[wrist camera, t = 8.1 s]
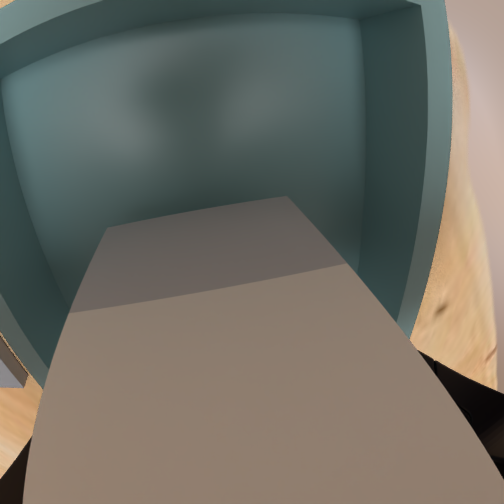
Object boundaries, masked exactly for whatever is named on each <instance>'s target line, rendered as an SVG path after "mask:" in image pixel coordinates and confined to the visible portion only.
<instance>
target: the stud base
mask: <svg viewBox="0 0 504 504" xmlns="http://www.w3.org/2000/svg"><path fill="white" fill-rule="evenodd" d="M27 377H28V374H27V373H26V372H25V370H24V369H23V368H22V367H21V365H20V364H19V363H18V361H17V360H16V358H15V357H14V356H13V354H12V353H11V352H10V350H9V349H8V347H7V346H6V344H5V343H4V341H3V340H2V338H1V337H0V387H8V388H24V386H25V383H26V380H27Z"/></svg>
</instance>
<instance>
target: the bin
mask: <svg viewBox="0 0 504 504" xmlns="http://www.w3.org/2000/svg"><path fill="white" fill-rule="evenodd" d="M451 131H452V65H451V50H450V38H449V29H448V21H447V14H446V8H445V2H444V0H15V1H13V2H11V3H10V4H8V5H6V6H4V7H3V8H1V9H0V331H1V333H2V334H3V336H4V338H5V339H6V341H7V342H8V343H9V345H10V346H11V348H12V349H13V351H14V352H15V354H16V355H17V356H18V358H19V359H20V360H21V362H22V363H23V365H24V366H25V367H26V368H27V370H28V371H29V372H30V374H31V375H32V376H33V377H34V379H35V380H36V381H37V382H38V384H39V385H40V386H41V387H42V389H44V386H45V382H46V379H47V375H48V372H49V369H50V365H51V362H52V359H53V356H54V353H55V350H56V347H57V344H58V341H59V338H60V335H61V333H62V330H63V327H64V324H65V322H66V319H67V316H68V314H69V311H70V309H71V306H72V304H73V301H74V299H75V296H76V294H77V291H78V289H79V287H80V284H81V282H82V280H83V278H84V275H85V273H86V271H87V269H88V266H89V264H90V262H91V260H92V258H93V256H94V253H95V251H96V249H97V247H98V245H99V243H100V241H101V239H102V237H103V235H104V233H105V231H106V229H107V228H108V227H113V226H118V225H123V224H127V223H132V222H137V221H142V220H147V219H152V218H157V217H162V216H168V215H173V214H178V213H184V212H189V211H195V210H201V209H206V208H212V207H218V206H224V205H230V204H236V203H242V202H249V201H255V200H262V199H269V198H275V197H282V196H287V197H288V198H289V199H290V200H291V201H292V202H293V203H294V204H295V205H296V206H297V207H298V208H299V209H300V211H301V212H302V213H303V214H304V215H305V216H306V217H307V218H308V219H309V220H310V221H311V223H312V224H313V225H314V226H315V227H316V228H317V229H318V230H319V231H320V233H321V234H322V235H323V236H324V237H325V238H326V239H327V240H328V242H329V243H330V244H331V245H332V246H333V247H334V248H335V250H336V251H337V252H338V253H339V254H340V255H341V257H342V258H343V259H344V260H345V261H346V262H347V264H348V265H349V266H350V267H351V268H352V269H353V271H354V272H355V273H356V274H357V275H358V276H359V278H360V279H361V280H362V281H363V282H364V284H365V285H366V286H367V287H368V288H369V290H370V291H371V292H372V293H373V295H374V296H375V297H376V298H377V299H378V301H379V302H380V303H381V304H382V306H383V307H384V308H385V309H386V311H387V312H388V313H389V314H390V316H391V317H392V318H393V319H394V321H395V322H396V323H397V325H398V326H399V327H400V328H401V330H402V331H403V332H404V333H405V335H406V336H407V337H408V339H410V336H411V333H412V330H413V327H414V324H415V321H416V318H417V315H418V312H419V309H420V305H421V302H422V299H423V295H424V292H425V288H426V285H427V281H428V277H429V273H430V269H431V265H432V261H433V257H434V253H435V248H436V243H437V239H438V234H439V229H440V223H441V218H442V212H443V206H444V200H445V193H446V185H447V177H448V169H449V159H450V147H451Z"/></svg>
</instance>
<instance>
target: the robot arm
mask: <svg viewBox="0 0 504 504" xmlns="http://www.w3.org/2000/svg"><path fill="white" fill-rule="evenodd" d="M417 351H418V352H419V353H420V355H421V356H422V357H423V359H424V360H425V361H426V363H427V364H428V365H429V367H430V368H431V369H432V371H433V372H434V374H435V375H436V376H437V378H438V379H439V380H440V382H441V383H442V385H443V386H444V388H445V389H446V390H447V392H448V393H449V395H450V396H451V398H452V399H453V400H454V402H455V403H456V405H457V406H458V408H459V409H460V411H461V412H462V414H463V415H464V417H465V418H466V420H467V421H468V423H469V424H470V426H471V427H472V429H473V430H474V432H475V433H476V435H477V437H478V438H479V440H480V441H481V443H482V444H483V446H484V448H485V449H486V451H487V452H488V454H489V456H490V457H491V459H492V461H493V462H494V464H495V466H496V467H497V469H498V471H499V473H500V474H501V476H502V478H503V479H504V394H503V393H500V392H498V391H496V390H493V389H491V388H489V387H487V386H484V385H482V384H480V383H478V382H476V381H474V380H471V379H469V378H467V377H465V376H463V375H461V374H459V373H458V372H456V371H454V370H452V369H450V368H448V367H447V366H445V365H443V364H441V363H440V362H438V361H434V360H433V359H432V358H431V357H429V356H427V355H426V354H424V353H422V352H420V351H419V350H417ZM31 440H32V437H31V438H30V440H29V441H28V443H27V444H26V445H25V447H24V448H23V450H22V451H21V453H20V454H19V455H18V457H17V458H16V460H15V461H14V462H13V463H12V465H11V466H10V467H9V469H8V470H7V471H6V473H5V474H4V475H3V476H2V478H1V479H0V504H23V494H24V485H25V477H26V469H27V463H28V457H29V451H30V445H31Z"/></svg>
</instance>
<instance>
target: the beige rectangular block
mask: <svg viewBox="0 0 504 504" xmlns="http://www.w3.org/2000/svg"><path fill="white" fill-rule="evenodd" d="M23 504H504V479H503V478H502V476H501V474H500V473H499V471H498V469H497V467H496V466H495V464H494V462H493V461H492V459H491V457H490V456H489V454H488V452H487V451H486V449H485V448H484V446H483V444H482V443H481V441H480V440H479V438H478V437H477V435H476V433H475V432H474V430H473V429H472V427H471V426H470V424H469V423H468V421H467V420H466V418H465V417H464V415H463V414H462V412H461V411H460V409H459V408H458V406H457V405H456V403H455V402H454V400H453V399H452V398H451V396H450V395H449V393H448V392H447V390H446V389H445V388H444V386H443V385H442V383H441V382H440V380H439V379H438V378H437V376H436V375H435V374H434V372H433V371H432V369H431V368H430V367H429V365H428V364H427V363H426V361H425V360H424V359H423V357H422V356H421V355H420V353H419V352H418V351H417V349H416V348H415V347H414V345H413V344H412V343H411V341H410V340H409V339H408V337H407V336H406V335H405V333H404V332H403V331H402V330H401V328H400V327H399V326H398V325H397V323H396V322H395V321H394V319H393V318H392V317H391V316H390V314H389V313H388V312H387V311H386V309H385V308H384V307H383V306H382V304H381V303H380V302H379V301H378V299H377V298H376V297H375V296H374V295H373V293H372V292H371V291H370V290H369V288H368V287H367V286H366V285H365V284H364V282H363V281H362V280H361V279H360V278H359V276H358V275H357V274H356V273H355V272H354V271H353V269H352V268H351V267H350V266H349V265H348V264H347V262H346V261H345V260H344V259H343V258H342V257H341V255H340V254H339V253H338V252H337V251H336V250H335V248H334V247H333V246H332V245H331V244H330V243H329V242H328V240H327V239H326V238H325V237H324V236H323V235H322V234H321V233H320V231H319V230H318V229H317V228H316V227H315V226H314V225H313V224H312V223H311V221H310V220H309V219H308V218H307V217H306V216H305V215H304V214H303V213H302V212H301V211H300V209H299V208H298V207H297V206H296V205H295V204H294V203H293V202H292V201H291V200H290V199H289V198H288V197H287V196H282V197H275V198H269V199H262V200H255V201H249V202H242V203H236V204H230V205H224V206H218V207H212V208H206V209H201V210H195V211H189V212H184V213H178V214H173V215H168V216H162V217H157V218H152V219H147V220H142V221H137V222H132V223H127V224H123V225H118V226H113V227H108V228H107V229H106V231H105V233H104V235H103V237H102V239H101V241H100V243H99V245H98V247H97V249H96V251H95V253H94V256H93V258H92V260H91V262H90V264H89V266H88V269H87V271H86V273H85V275H84V278H83V280H82V282H81V284H80V287H79V289H78V291H77V294H76V296H75V299H74V301H73V304H72V306H71V309H70V311H69V314H68V316H67V319H66V322H65V324H64V327H63V330H62V333H61V335H60V338H59V341H58V344H57V347H56V350H55V353H54V356H53V359H52V362H51V365H50V369H49V372H48V375H47V379H46V382H45V386H44V389H43V393H42V396H41V400H40V404H39V408H38V412H37V417H36V421H35V425H34V430H33V435H32V440H31V445H30V451H29V457H28V463H27V469H26V477H25V485H24V494H23Z"/></svg>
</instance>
